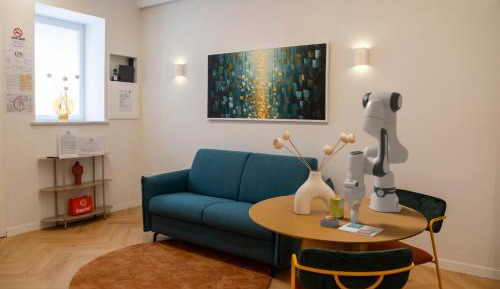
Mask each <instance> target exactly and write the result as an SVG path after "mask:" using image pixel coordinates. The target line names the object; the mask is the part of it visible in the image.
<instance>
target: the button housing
mask: <svg viewBox="0 0 500 289" xmlns="http://www.w3.org/2000/svg"><path fill="white" fill-rule="evenodd" d="M319 222H320V223H319V225H320V226H322V227H328V228H331V229H333V228H335V227H337V226H339V225H340V219H335V218H334V221H328V220H326V217H323V218H321V219H320V221H319Z"/></svg>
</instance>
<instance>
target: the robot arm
mask: <svg viewBox="0 0 500 289" xmlns="http://www.w3.org/2000/svg"><path fill="white" fill-rule="evenodd" d="M361 102H362V104H361V105H362V107H363V109H364V112H363V116H362V120H361V128H362V130H363V131H364V132H365V133H366V134H367V135H369V136H371V137H372V138H374V139H376V142H377V144H372V145H366V147H364V148H363V151H361V150H355V151H351V152H349V154H348V156H347V165H346V167H347V174H346V179H345V181H344V182H343V184H342V186H343V198H344V202H346V203H347V204H348V209H349V210H350V211H351V210H352V209H353V204H354V202H355V201H356V203H355V204H357V205H358V206H359V207H361V204H362V200H363V198H365V197H366V195H367V194H366V193H367V192H366V184H365V175H366V176H373V177H374V186H373V193H371V197H370V203H369V205H368V206H367V207H368V208H369V209H371V210H372V211H376V212H379V213H380V212H381V213H400V211H401V210H402V208H403V205H401V204H399V197H398V195H397V194H396V188H397V186H395V173H394V172H393V171H391V170H390V165H391V164H392V165H398V164H404V163H406V162H407V161H408V159H409V151H408V149H407V148H406V147H405V146H404V145H403V144H402V143H401V142H400V141H399V138H398V135H397V134H398V133H397V132H398V131H397V122H398V121H397V112H398V111H399V110H401V108H402V106H403V97H402V94H401V93H399V92H396V91H393V92H392V91H378V92H372V91H371V92H367V93H365V94H364V96H362V101H361Z"/></svg>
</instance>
